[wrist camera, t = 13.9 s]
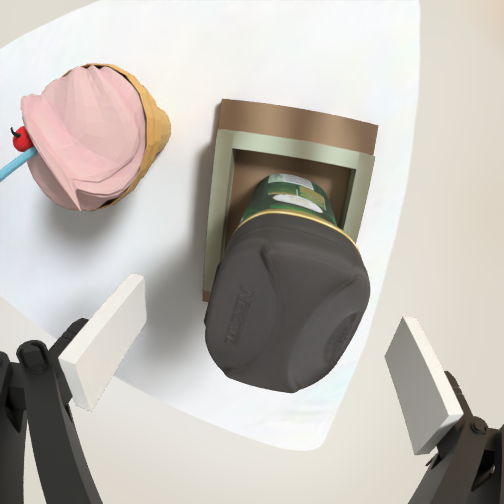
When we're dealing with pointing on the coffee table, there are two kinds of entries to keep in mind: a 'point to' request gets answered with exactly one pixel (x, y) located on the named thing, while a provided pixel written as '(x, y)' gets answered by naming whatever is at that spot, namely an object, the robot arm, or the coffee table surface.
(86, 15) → the coffee table surface
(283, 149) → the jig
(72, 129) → the ice cream cone
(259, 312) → the coffee jar
